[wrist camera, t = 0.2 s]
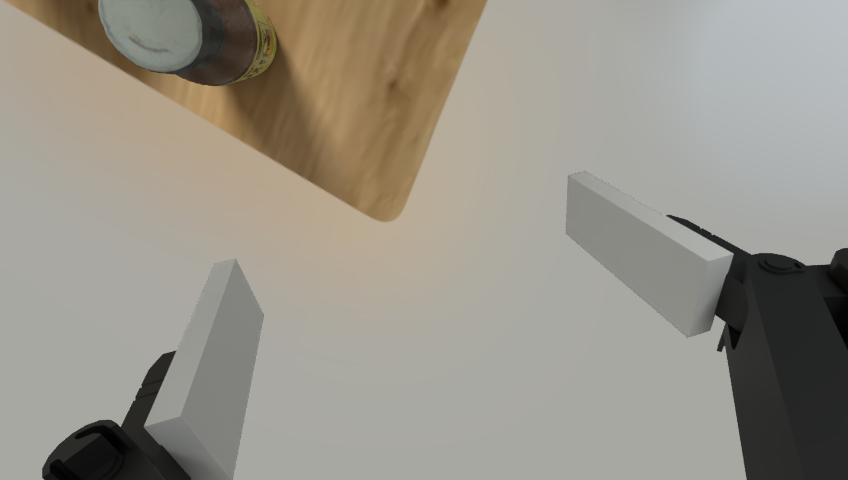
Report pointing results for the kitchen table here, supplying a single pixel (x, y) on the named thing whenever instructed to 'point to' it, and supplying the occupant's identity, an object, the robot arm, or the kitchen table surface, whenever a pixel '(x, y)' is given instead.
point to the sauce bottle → (192, 37)
